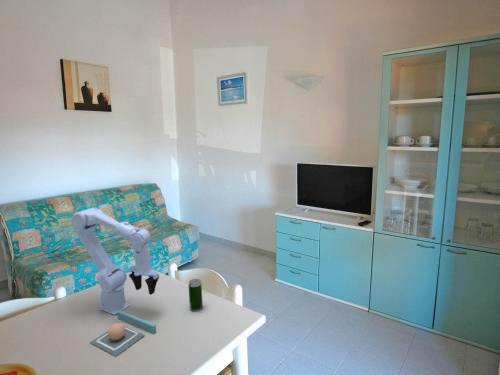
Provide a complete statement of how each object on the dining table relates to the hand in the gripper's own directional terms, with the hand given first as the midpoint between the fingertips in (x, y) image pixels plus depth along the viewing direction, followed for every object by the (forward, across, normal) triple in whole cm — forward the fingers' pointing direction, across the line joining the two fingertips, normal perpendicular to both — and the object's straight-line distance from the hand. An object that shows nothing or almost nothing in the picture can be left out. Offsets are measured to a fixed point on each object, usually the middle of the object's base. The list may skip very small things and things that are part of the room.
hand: (145, 291), depth 124 cm
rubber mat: (+9, +4, -17) cm, 20 cm away
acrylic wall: (+9, +3, -8) cm, 13 cm away
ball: (+9, +4, -17) cm, 20 cm away
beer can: (+10, +16, +12) cm, 22 cm away
